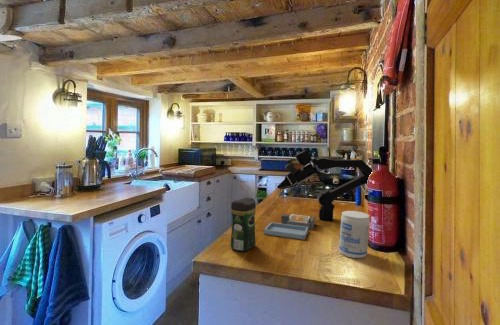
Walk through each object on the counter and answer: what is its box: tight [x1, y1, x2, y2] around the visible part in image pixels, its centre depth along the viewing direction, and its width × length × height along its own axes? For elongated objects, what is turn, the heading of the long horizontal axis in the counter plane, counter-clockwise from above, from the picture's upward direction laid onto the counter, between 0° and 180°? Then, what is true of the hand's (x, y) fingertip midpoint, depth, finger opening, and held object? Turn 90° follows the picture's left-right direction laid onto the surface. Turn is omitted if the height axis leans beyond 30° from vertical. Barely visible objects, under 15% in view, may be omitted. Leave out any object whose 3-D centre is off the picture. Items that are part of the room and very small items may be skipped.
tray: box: [263, 222, 309, 241], centre depth 119 cm, size 17×11×2 cm, turn 70°
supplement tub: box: [338, 210, 371, 259], centre depth 98 cm, size 10×10×15 cm
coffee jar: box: [230, 196, 257, 252], centre depth 101 cm, size 10×8×19 cm
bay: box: [286, 215, 315, 231], centre depth 129 cm, size 12×9×4 cm
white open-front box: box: [280, 213, 311, 224], centre depth 130 cm, size 13×6×4 cm, turn 70°
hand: (278, 188), depth 141 cm, fingers open, 9 cm apart
